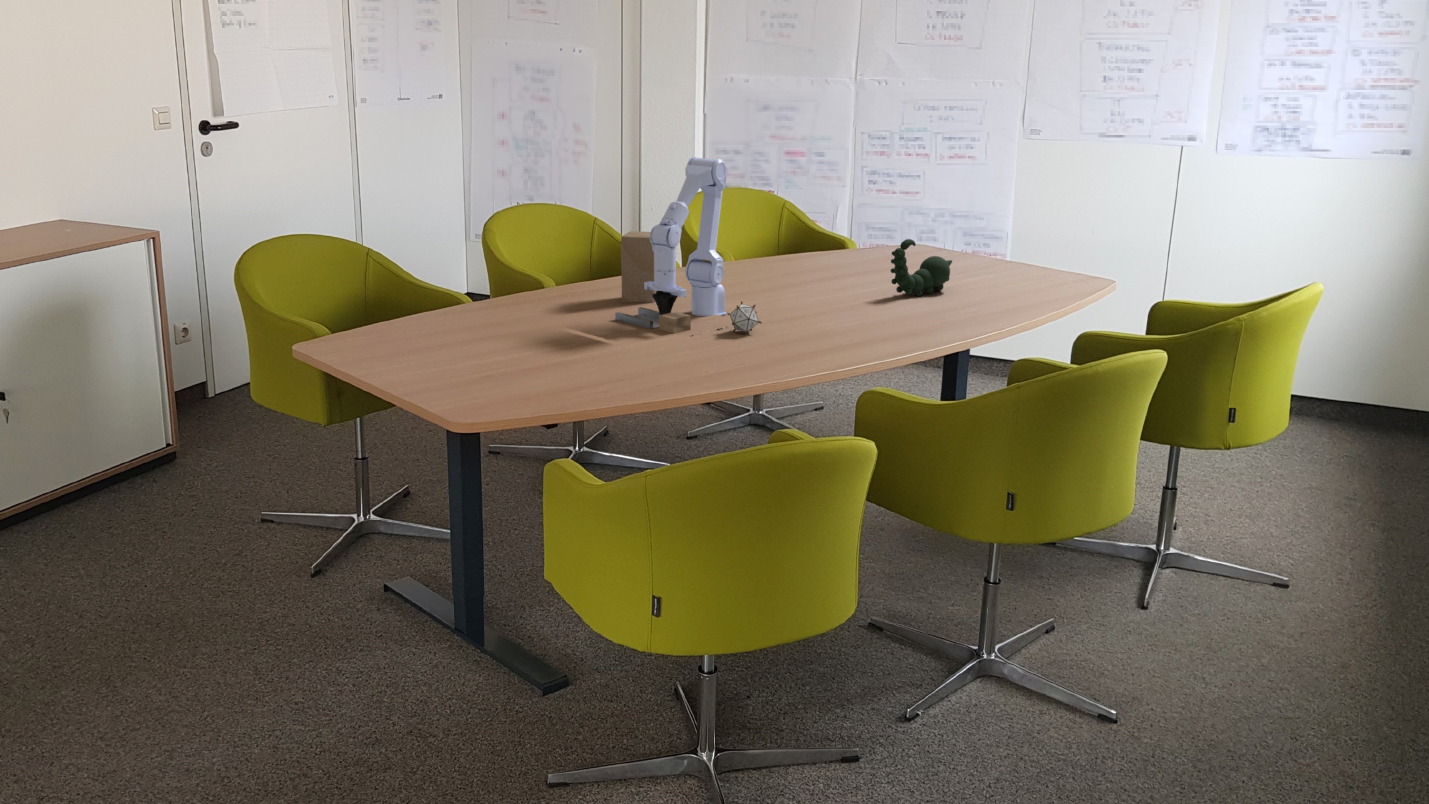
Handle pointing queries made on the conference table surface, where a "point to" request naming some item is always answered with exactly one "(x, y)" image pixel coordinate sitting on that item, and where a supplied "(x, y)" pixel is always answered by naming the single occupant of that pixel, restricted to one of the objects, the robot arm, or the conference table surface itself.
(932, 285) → the toy figurine
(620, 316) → the chute
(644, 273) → the wooden block
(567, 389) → the conference table surface
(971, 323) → the conference table surface
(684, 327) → the walnut block
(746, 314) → the game die
